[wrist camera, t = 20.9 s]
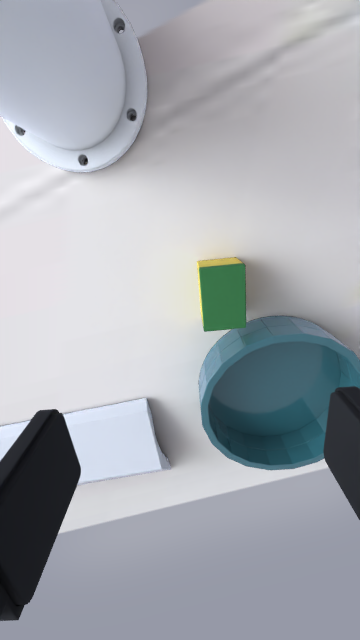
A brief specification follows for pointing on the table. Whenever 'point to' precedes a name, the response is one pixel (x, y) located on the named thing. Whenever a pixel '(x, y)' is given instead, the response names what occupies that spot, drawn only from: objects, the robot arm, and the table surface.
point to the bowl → (273, 391)
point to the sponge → (222, 293)
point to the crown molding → (107, 441)
